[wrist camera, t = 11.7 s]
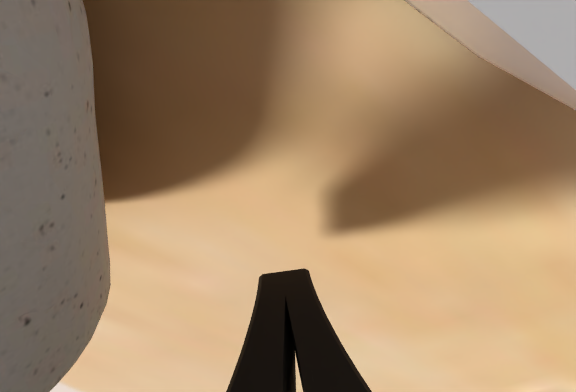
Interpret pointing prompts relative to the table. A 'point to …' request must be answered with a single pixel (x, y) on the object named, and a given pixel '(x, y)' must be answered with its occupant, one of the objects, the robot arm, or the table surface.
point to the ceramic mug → (48, 194)
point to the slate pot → (516, 38)
